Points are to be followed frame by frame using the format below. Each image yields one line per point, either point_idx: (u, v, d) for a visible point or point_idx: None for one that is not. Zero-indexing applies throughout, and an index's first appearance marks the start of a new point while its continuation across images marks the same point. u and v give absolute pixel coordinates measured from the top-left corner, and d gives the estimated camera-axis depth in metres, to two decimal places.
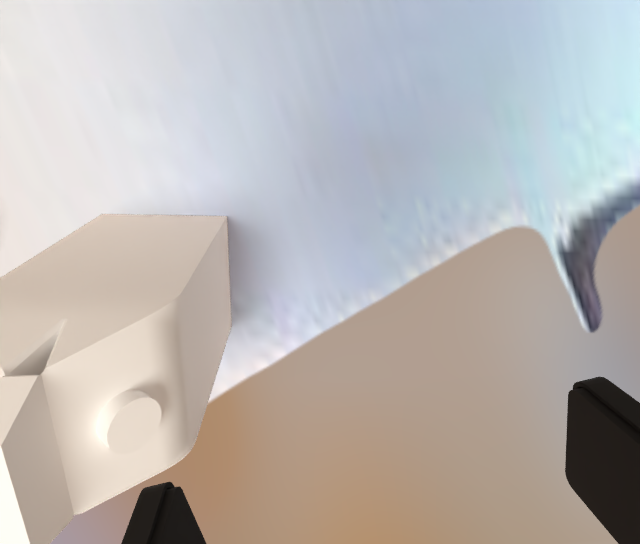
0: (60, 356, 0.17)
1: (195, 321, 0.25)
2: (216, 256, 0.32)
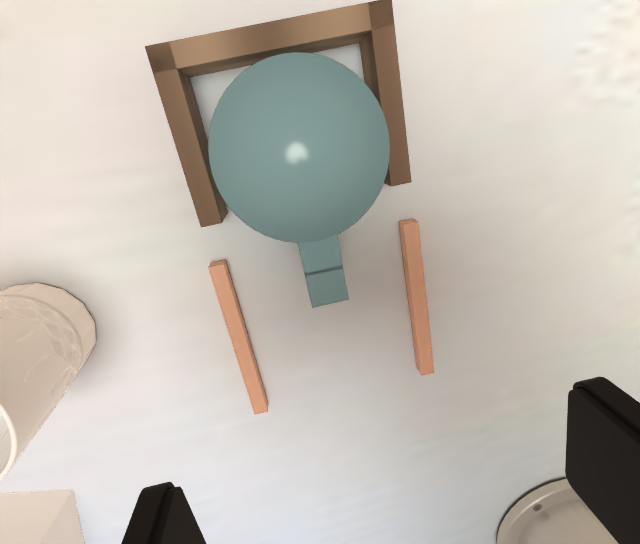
0: None
1: None
2: None
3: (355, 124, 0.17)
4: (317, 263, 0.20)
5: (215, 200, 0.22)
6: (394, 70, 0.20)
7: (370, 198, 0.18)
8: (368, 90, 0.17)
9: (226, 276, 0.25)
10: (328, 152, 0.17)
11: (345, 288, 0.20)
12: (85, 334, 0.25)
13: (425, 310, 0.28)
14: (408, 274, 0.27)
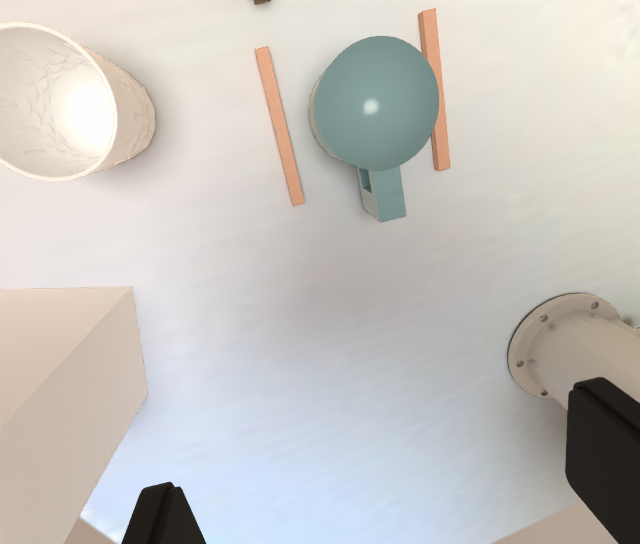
0: None
1: None
2: None
3: (417, 84, 0.25)
4: (385, 188, 0.28)
5: None
6: None
7: (425, 137, 0.26)
8: (426, 61, 0.24)
9: (270, 59, 0.29)
10: (398, 104, 0.25)
11: (404, 207, 0.28)
12: (150, 109, 0.29)
13: (442, 101, 0.32)
14: None
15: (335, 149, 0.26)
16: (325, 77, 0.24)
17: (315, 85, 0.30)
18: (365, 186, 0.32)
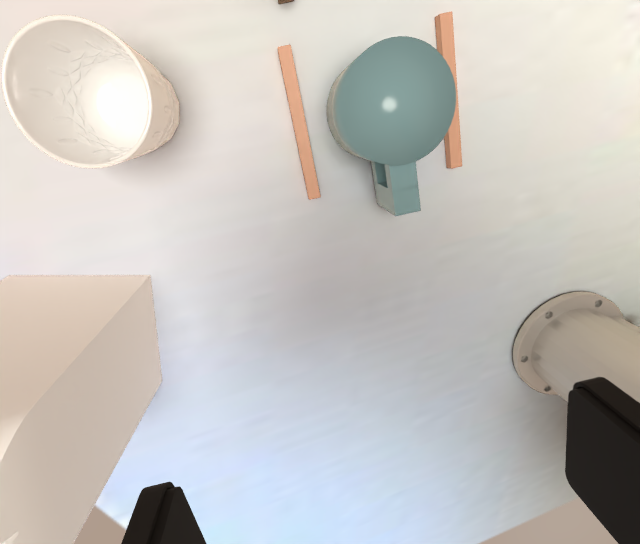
0: None
1: None
2: None
3: (435, 83, 0.26)
4: (401, 183, 0.29)
5: None
6: None
7: (441, 134, 0.27)
8: (444, 61, 0.26)
9: (292, 57, 0.30)
10: (416, 102, 0.26)
11: (418, 202, 0.29)
12: (175, 102, 0.30)
13: (456, 101, 0.33)
14: None
15: (355, 144, 0.27)
16: (348, 74, 0.25)
17: (334, 83, 0.31)
18: (380, 182, 0.33)
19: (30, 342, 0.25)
